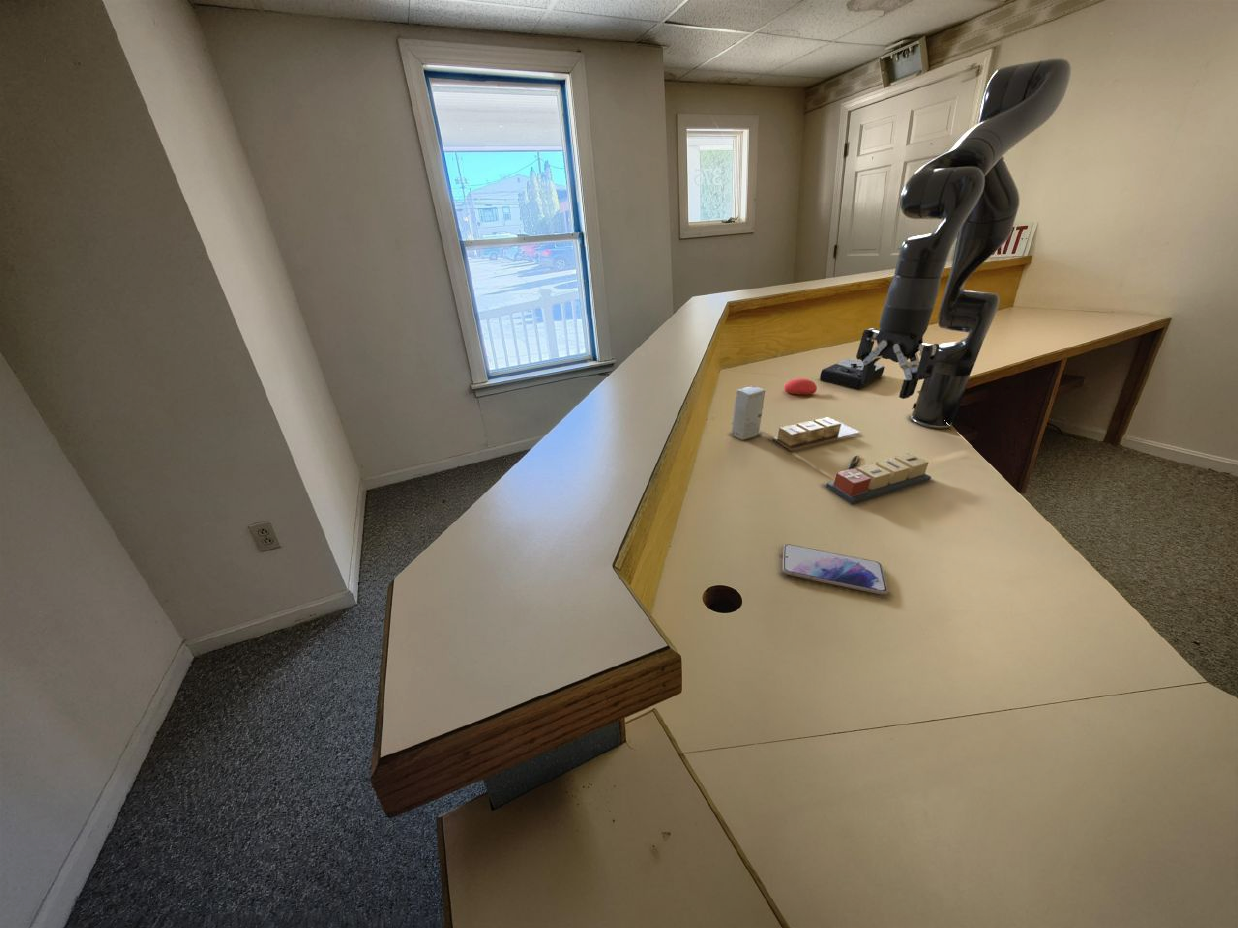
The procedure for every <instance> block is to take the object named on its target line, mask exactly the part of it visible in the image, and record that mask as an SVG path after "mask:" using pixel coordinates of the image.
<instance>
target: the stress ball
mask: <svg viewBox="0 0 1238 928" xmlns="http://www.w3.org/2000/svg"><path fill="white" fill-rule="evenodd" d="M817 388H818V387H817V384H816V382H814V381H813V380H811V379H808V378H799V377H798V378H793V379H791V380H788V381H787V382H785V384H784V386H783V389H784V392H786V393H788V394H790V395H791V394H792V395H803V396H809V395H813V394H815V393H816V392H817V390H818V389H817Z"/></svg>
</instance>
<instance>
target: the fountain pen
mask: <svg viewBox="0 0 1238 928" xmlns="http://www.w3.org/2000/svg"><path fill="white" fill-rule="evenodd" d="M859 459H860V455H859V454H857V455H855V456H854V457H853V458H852V460H851V462H850V465H849V467H848V469H852V468H853V469H856V466H857V464H858V462H859Z"/></svg>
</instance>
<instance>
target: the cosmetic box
mask: <svg viewBox="0 0 1238 928" xmlns="http://www.w3.org/2000/svg"><path fill="white" fill-rule="evenodd" d="M765 396H766V389H764V388H761V387H758V386H755V385H750V386H746V387H742V388H738V389H736V394H735V402H734V410H733V418H732V426H731V435H732V436H733V437H735V438H738V439H740V440H742V441H743V440H747V439H750V438H754V437H756V436H758V435H759V434H760V428H761V423H762V417H763V410H764V402H765Z"/></svg>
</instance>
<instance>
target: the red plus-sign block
mask: <svg viewBox="0 0 1238 928" xmlns="http://www.w3.org/2000/svg"><path fill="white" fill-rule="evenodd" d="M833 481H834V484H833V485H834V486H836V487H837V488H839V489H840V490H842V491H843V492H845V493H847V494H848V495H850V496H853V495H856V494H859V493H863V492H866V491H867V490H868V487H869V484H870V481H871V478H869V477H867V476H866V475H864V474H863V473H861V472H859V471H857V470H856V468H854V469H853V468H852V469H849V468H848V469H846V470H845V469H844V470H841V471H837V472H836V474H835V477H834V480H833Z"/></svg>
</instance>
